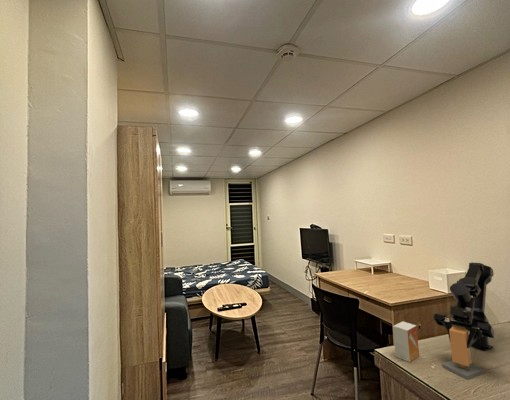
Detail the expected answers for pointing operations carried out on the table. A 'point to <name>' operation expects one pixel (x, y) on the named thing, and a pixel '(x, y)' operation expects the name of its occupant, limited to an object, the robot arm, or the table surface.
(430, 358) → the table surface
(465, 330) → the orange block on stand
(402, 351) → the small box
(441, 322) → the robot arm
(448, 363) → the plate
